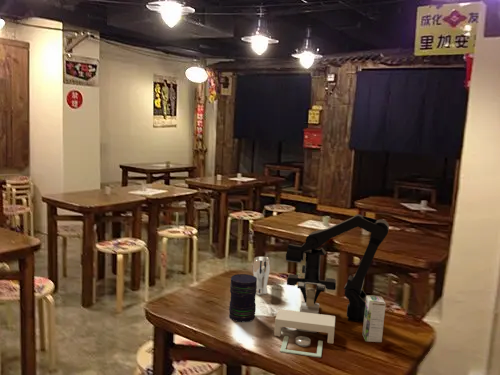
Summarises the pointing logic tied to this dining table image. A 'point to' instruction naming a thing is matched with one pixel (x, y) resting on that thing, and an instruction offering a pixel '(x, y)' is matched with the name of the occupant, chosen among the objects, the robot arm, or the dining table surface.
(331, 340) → the cream bridge block
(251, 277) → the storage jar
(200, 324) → the dining table surface
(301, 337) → the disc
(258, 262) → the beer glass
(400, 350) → the dining table surface
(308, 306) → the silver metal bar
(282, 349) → the frame
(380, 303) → the syrup box
